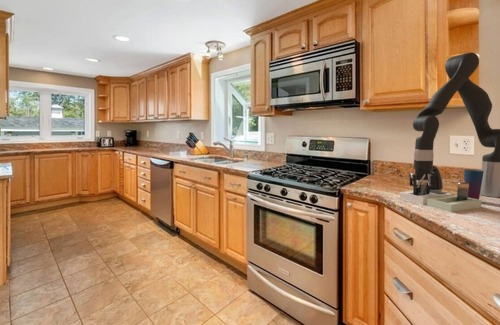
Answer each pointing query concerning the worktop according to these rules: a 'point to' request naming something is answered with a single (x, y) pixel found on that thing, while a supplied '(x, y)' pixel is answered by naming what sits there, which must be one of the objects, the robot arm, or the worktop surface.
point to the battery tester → (422, 199)
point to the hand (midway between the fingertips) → (421, 194)
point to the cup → (473, 182)
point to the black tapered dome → (437, 180)
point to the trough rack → (453, 203)
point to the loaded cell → (462, 191)
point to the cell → (423, 188)
